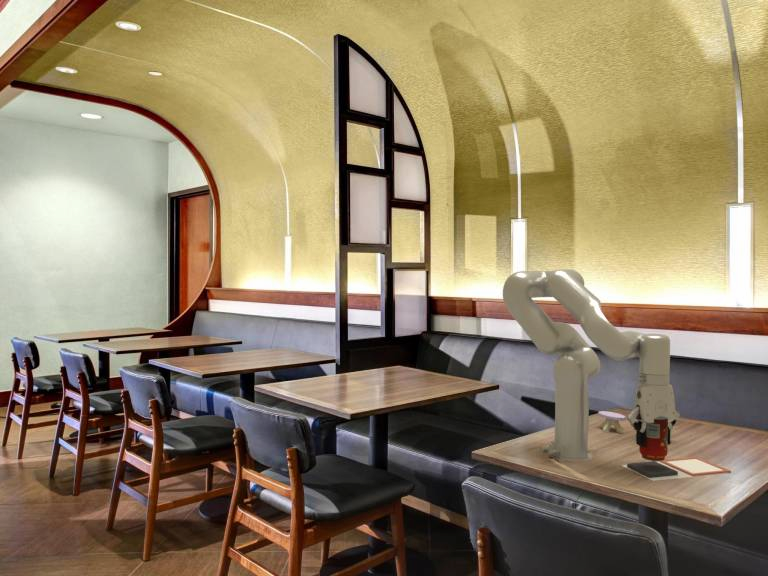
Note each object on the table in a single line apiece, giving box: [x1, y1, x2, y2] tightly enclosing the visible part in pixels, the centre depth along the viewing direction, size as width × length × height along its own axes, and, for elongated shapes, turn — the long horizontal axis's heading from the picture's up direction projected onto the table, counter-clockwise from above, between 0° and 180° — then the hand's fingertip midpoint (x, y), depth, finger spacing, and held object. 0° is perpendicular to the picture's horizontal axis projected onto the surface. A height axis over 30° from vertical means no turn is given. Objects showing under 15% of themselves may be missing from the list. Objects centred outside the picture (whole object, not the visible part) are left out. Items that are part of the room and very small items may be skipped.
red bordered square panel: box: [659, 456, 732, 477], centre depth 173 cm, size 13×13×1 cm
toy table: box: [597, 410, 626, 434], centre depth 215 cm, size 10×9×6 cm
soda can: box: [638, 416, 669, 462], centre depth 168 cm, size 7×7×12 cm
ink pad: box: [626, 461, 678, 479], centre depth 169 cm, size 9×9×1 cm
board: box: [621, 461, 727, 482], centre depth 171 cm, size 24×13×1 cm, turn 106°
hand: (653, 444), depth 168 cm, fingers closed on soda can, 7 cm apart
